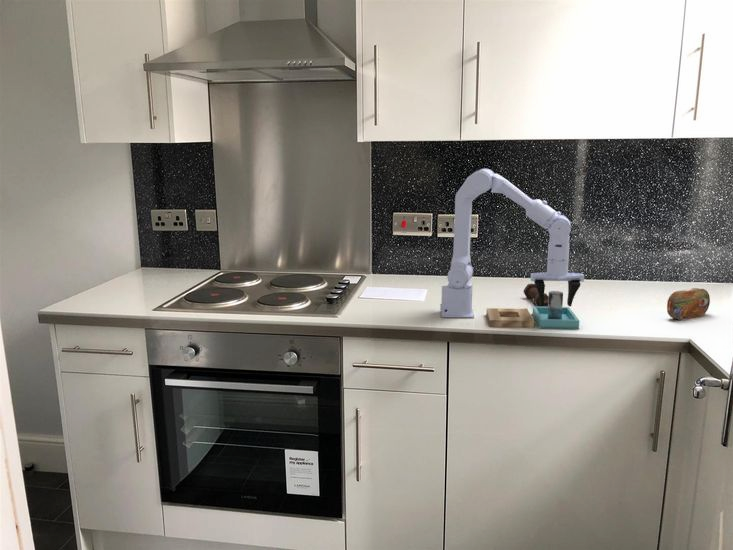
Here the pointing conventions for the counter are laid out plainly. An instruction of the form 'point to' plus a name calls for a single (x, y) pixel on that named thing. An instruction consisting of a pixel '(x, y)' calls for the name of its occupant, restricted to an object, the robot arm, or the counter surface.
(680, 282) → the counter surface
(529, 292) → the bolt
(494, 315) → the wooden socket board
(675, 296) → the tin
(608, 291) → the counter surface
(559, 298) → the pin
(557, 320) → the tray
